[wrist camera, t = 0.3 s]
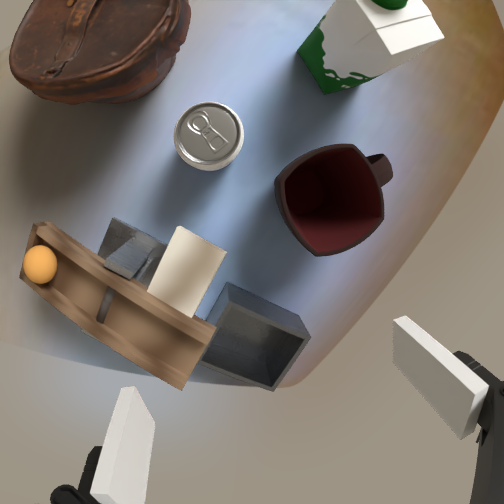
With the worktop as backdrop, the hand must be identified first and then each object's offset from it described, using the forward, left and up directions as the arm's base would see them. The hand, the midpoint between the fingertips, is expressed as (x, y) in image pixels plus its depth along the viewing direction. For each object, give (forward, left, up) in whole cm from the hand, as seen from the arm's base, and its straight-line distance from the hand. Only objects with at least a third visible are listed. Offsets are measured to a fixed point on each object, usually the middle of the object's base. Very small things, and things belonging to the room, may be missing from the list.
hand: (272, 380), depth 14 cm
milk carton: (-1, +28, -28) cm, 39 cm away
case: (-25, +16, -28) cm, 41 cm away
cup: (+5, +12, -28) cm, 31 cm away
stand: (-11, -9, -27) cm, 31 cm away
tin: (+6, -9, -27) cm, 30 cm away
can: (-9, +10, -28) cm, 31 cm away
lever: (-11, -6, -18) cm, 22 cm away
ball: (-19, -9, -19) cm, 28 cm away
